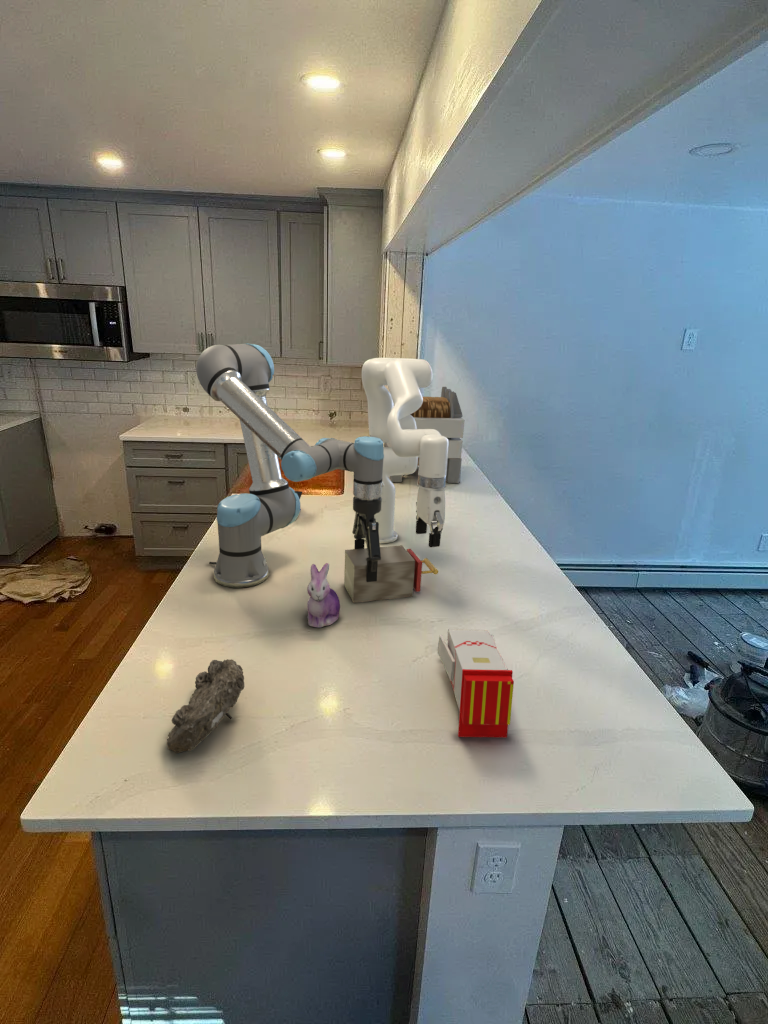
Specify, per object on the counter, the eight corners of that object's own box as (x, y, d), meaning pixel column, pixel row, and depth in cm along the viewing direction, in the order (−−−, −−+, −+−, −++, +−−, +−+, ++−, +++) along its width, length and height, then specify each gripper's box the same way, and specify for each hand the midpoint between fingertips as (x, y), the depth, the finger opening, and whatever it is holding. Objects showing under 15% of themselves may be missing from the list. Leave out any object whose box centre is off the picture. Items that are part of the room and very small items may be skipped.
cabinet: (400, 579, 166) (402, 545, 163) (412, 596, 157) (415, 560, 153) (344, 585, 162) (344, 549, 158) (353, 603, 152) (354, 566, 148)
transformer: (382, 463, 289) (386, 382, 275) (445, 464, 293) (451, 384, 279) (390, 482, 257) (394, 392, 243) (460, 483, 261) (468, 394, 247)
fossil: (192, 660, 117) (244, 628, 112) (224, 691, 120) (276, 661, 115) (142, 746, 98) (202, 712, 93) (182, 779, 101) (242, 748, 96)
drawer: (426, 574, 168) (428, 547, 165) (438, 589, 159) (440, 560, 156) (357, 581, 162) (358, 553, 159) (366, 597, 153) (367, 567, 150)
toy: (488, 613, 130) (523, 677, 101) (484, 667, 133) (517, 744, 104) (435, 612, 130) (455, 676, 101) (432, 666, 133) (451, 743, 103)
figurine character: (298, 524, 207) (303, 507, 221) (298, 506, 204) (302, 489, 217) (280, 524, 207) (285, 506, 220) (279, 505, 204) (285, 488, 217)
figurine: (312, 633, 137) (312, 577, 132) (298, 613, 145) (298, 559, 140) (348, 624, 141) (349, 570, 136) (332, 606, 150) (333, 554, 144)
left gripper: (395, 511, 139) (391, 589, 146) (368, 482, 161) (366, 551, 168) (366, 513, 136) (363, 592, 144) (342, 483, 158) (341, 553, 166)
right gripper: (457, 489, 146) (452, 550, 152) (432, 471, 162) (428, 527, 167) (430, 491, 144) (426, 553, 150) (407, 473, 159) (404, 529, 165)
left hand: (365, 570), depth 156 cm, fingers open, 12 cm apart
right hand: (427, 539), depth 158 cm, fingers open, 9 cm apart
